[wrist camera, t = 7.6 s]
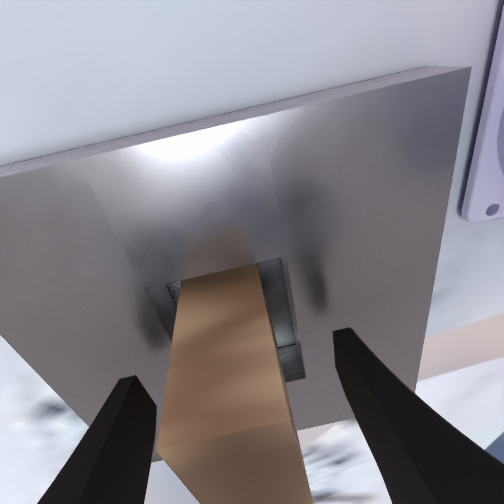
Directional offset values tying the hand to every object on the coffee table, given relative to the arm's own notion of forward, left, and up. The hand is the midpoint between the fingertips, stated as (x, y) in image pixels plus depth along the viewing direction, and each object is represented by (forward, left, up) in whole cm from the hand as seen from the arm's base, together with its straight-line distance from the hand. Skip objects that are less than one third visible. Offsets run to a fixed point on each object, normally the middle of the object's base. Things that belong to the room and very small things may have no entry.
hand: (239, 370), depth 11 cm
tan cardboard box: (0, 0, -3) cm, 4 cm away
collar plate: (0, 0, -3) cm, 3 cm away
